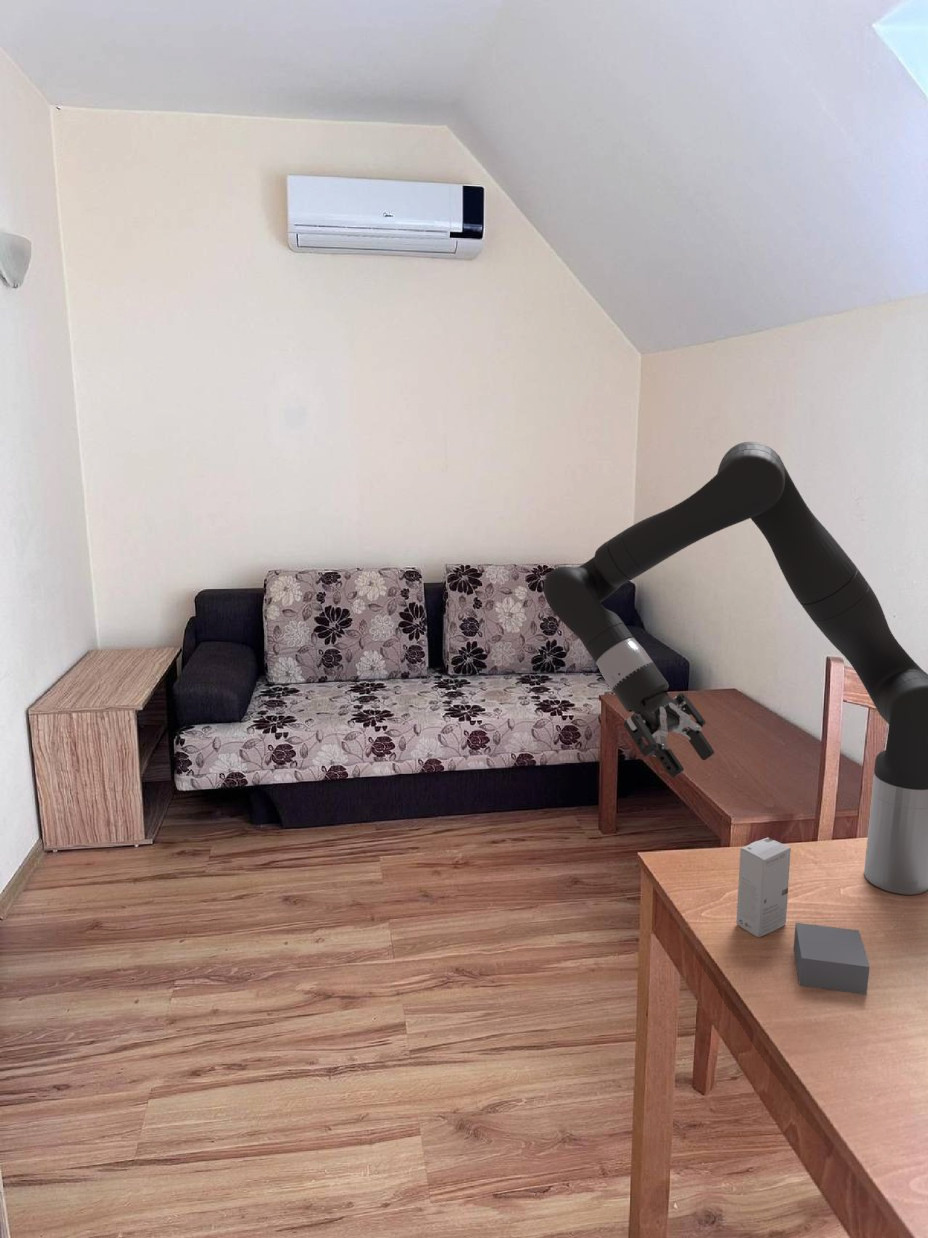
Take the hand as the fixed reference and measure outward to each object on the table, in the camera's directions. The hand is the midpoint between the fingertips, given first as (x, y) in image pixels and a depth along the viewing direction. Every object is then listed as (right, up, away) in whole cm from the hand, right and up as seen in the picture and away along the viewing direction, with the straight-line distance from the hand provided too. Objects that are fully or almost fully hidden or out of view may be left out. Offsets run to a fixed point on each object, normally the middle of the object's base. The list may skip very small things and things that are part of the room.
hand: (694, 765), depth 129 cm
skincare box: (+9, -22, -3) cm, 24 cm away
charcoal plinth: (+14, -25, -13) cm, 32 cm away
